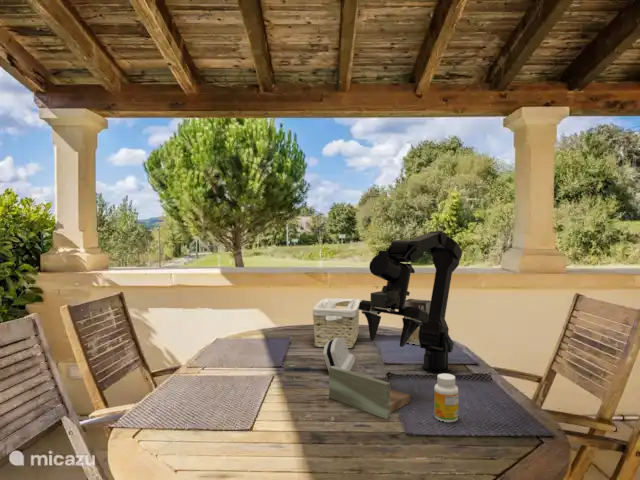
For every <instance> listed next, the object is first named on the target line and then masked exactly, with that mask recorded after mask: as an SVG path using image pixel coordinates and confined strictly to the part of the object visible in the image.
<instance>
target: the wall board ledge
mask: <svg viewBox="0 0 640 480" xmlns="http://www.w3.org/2000/svg"><path fill="white" fill-rule="evenodd" d="M328 395H329V396H328V397H329V399H332V400H335V401H336V402H340V403H342V404H345V405H348V406H350V407H353V408H356V409H359V410H361V411H364V412H366V413H369V414H371V415H375V416H377V417H379V418H382V419H385V420H387V419H388V418H390V417H391V414H392V413H394V412H396V411H398V410H400V409H401V408H403V407H405V406H406V405H405V404H407V405H409V404H410V403H411V394H409V393H405V392H402V391H399V390H397V389H396V390H395V389H392V388H391V383H390V382H387V381H385V380H381V379H378V378H375V377H371V376H367V375H365V374H362V373H358V372H355V371H351V370H350V371H348V370H345V369H342V368H338V367H335V366H331V367H329V371H328ZM409 402H410V403H409ZM408 403H409V404H408ZM404 405H405V406H404ZM402 406H403V407H402ZM399 408H400V409H399Z"/></svg>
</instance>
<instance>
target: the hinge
mask: <svg viewBox="0 0 640 480" xmlns="http://www.w3.org/2000/svg"><path fill="white" fill-rule="evenodd" d="M322 355H323V358H324V361H325V364H326V368H327V372H329V367H331V366H335V367H338V368H342V369H345V370H348V371H351V369H352V368H353V365H354V364H355V362H356V359H355V358H356V357H355V356H354V354H353V353H350V351H349V348H347V346H346V343H345V341H344V339H343V338H342V337H340V338H335V339H332V340H330V341H328V342H327V343H326V345H325V347H323V354H322Z"/></svg>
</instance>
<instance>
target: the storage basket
mask: <svg viewBox="0 0 640 480" xmlns="http://www.w3.org/2000/svg"><path fill="white" fill-rule="evenodd" d="M360 302H361V299H360V298H327V297H326V298H322V299H321V300H319V301H318V302H317V303H316V304H315V305H314V307H313V308H312V321H313V332H314V334H313V336H314V344H313V345H314V346H315V347H318V348H324V347H325V345H326V343H327V342H328V341H330V340H332V339H335V338H340V337H342V338H343V339H344V341H345V343H346V346H347V348H348V349H352V348H354V345H355V343H356V342H357V338H358V335H359V323H360V322H359V321H360V310H359V309H358V308H359V303H360ZM337 307H344V308H337Z"/></svg>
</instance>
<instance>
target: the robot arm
mask: <svg viewBox="0 0 640 480" xmlns="http://www.w3.org/2000/svg"><path fill="white" fill-rule="evenodd" d="M426 251H429V253H430V254H431V256H432V263H433V265H434V268H435V272H434V273H435V274H434V280H433V287H432V293H431V298H430V301H431V303H430V309H429V314H428V312H427V311H425V310H422V309H420V308H415V307H408V306H407V307H405V301H406V300H407V296H410V291H408V290H409V284H410V277H411V274H415V273H416V272H415V269H414V267H413V266H412V264H411V263H414V262H416V261H417V260H418V259H419V258H421V254H422V253H423V252H426ZM462 255H463V251H462V248H461V246H460V245H459V244H458V242H457V241H456V240H454V239H452V238H450V237H449V236H448V235H447V233H446V232H444V231H438V230H437V231H435V230H434V231H429V232H427V233H425V234H422V235H420V236H417V237H415V238H411V239H397V240H396V239H395V240H393V241H391V243H390V245H389V247H388V248H387V249H386V250H378V254H377V255H375V256H374V257H373V258H372V259H371V261H370V262H369V272H370V273H371V274H372V275H373V276H376V277H377V278H380V279H382V280H384V281H387V282H386V285H383V287H382V288H381V291H375V292H370V300H366V299H365V300H364V299H362V300H360V303H359V308H358V309H359V311H361V314H362V315H363V314H364V315H363V316H364V317H365V318H366V321H367V324H368V326H367V327H368V332H369V338H370V341H374V340H375V338H376V335H377V333H378V329H379V325H380V323H381V318H382V315H380V314H381V313H382V314H383V313H384V314H390V315H395V316H401V317H402V318H401V319H402V324H403V325H402V330H401V335H400V340H399V347H401V348H404V346H405V345H406V344H405V343H406V342H407V340H408V339H409V338H410V336H411V335H412V333H413V332H414V331H415V330H416V329H417V328H418V326H419V325H420V329H419V333H418V337H419V342H420V346H419V347H420V349H424V354H423V365H421V367H422V368H423V369H425V370H426V371H429V372H430V373H432V374H440V373H444V372H451V371H452V368H450V367H449V353H452V352H453V349H454V342H453V340H452V339H451V337H450V335H449V326H448V323H447V321H446V313H447V306H448V300H449V293H450V288H451V282H452V275H453V272H455V270H456V269H457V268H458V267H459V265H460V261H461V258H462ZM396 310H397V311H396ZM404 316H406V317H407V318H404Z"/></svg>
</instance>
